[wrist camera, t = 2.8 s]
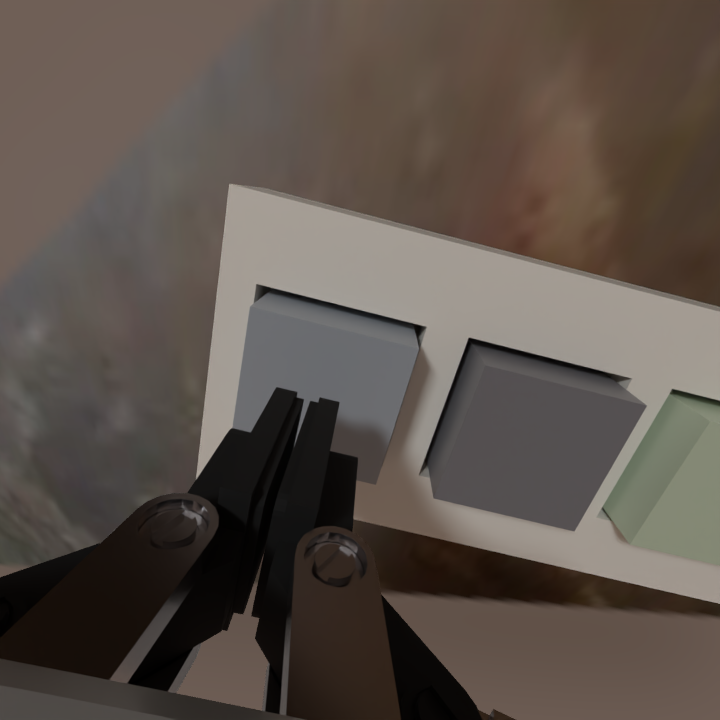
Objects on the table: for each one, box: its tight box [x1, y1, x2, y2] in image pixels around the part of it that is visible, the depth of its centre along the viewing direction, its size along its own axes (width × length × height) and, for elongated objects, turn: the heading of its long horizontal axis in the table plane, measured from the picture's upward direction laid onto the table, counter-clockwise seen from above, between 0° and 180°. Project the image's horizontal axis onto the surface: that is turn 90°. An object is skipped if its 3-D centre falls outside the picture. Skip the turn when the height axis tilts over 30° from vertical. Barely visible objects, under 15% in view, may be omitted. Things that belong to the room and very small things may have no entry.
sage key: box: [603, 389, 720, 566], centre depth 14 cm, size 5×5×3 cm
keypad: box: [196, 184, 720, 604], centre depth 16 cm, size 22×11×4 cm, turn 76°
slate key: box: [232, 288, 419, 485], centre depth 14 cm, size 5×5×3 cm
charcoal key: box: [426, 338, 647, 532], centre depth 14 cm, size 5×5×3 cm
